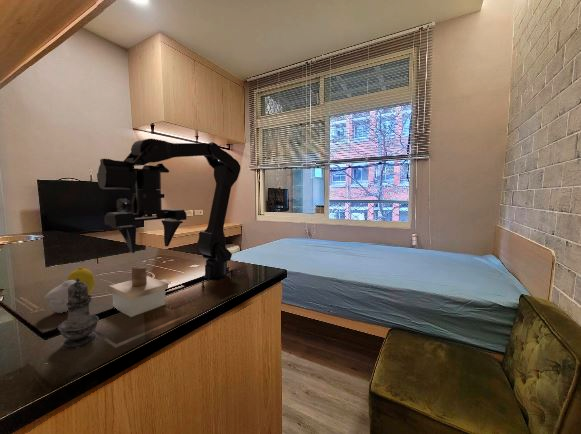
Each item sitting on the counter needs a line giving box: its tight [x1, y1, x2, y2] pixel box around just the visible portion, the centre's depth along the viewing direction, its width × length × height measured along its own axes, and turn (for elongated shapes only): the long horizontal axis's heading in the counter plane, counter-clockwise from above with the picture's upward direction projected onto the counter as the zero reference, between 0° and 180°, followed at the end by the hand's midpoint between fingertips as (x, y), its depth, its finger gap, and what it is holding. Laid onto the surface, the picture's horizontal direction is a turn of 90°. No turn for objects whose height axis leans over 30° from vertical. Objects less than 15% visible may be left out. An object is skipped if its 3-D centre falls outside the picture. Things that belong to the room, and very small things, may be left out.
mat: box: [159, 278, 185, 294], centre depth 74 cm, size 10×10×1 cm
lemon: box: [66, 266, 96, 294], centre depth 66 cm, size 6×6×8 cm
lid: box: [108, 265, 168, 300], centre depth 61 cm, size 9×9×5 cm
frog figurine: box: [44, 279, 76, 314], centre depth 59 cm, size 6×7×7 cm
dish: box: [112, 290, 166, 318], centre depth 62 cm, size 8×8×4 cm
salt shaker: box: [57, 278, 100, 350], centre depth 47 cm, size 6×6×12 cm
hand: (150, 249), depth 68 cm, fingers open, 9 cm apart
